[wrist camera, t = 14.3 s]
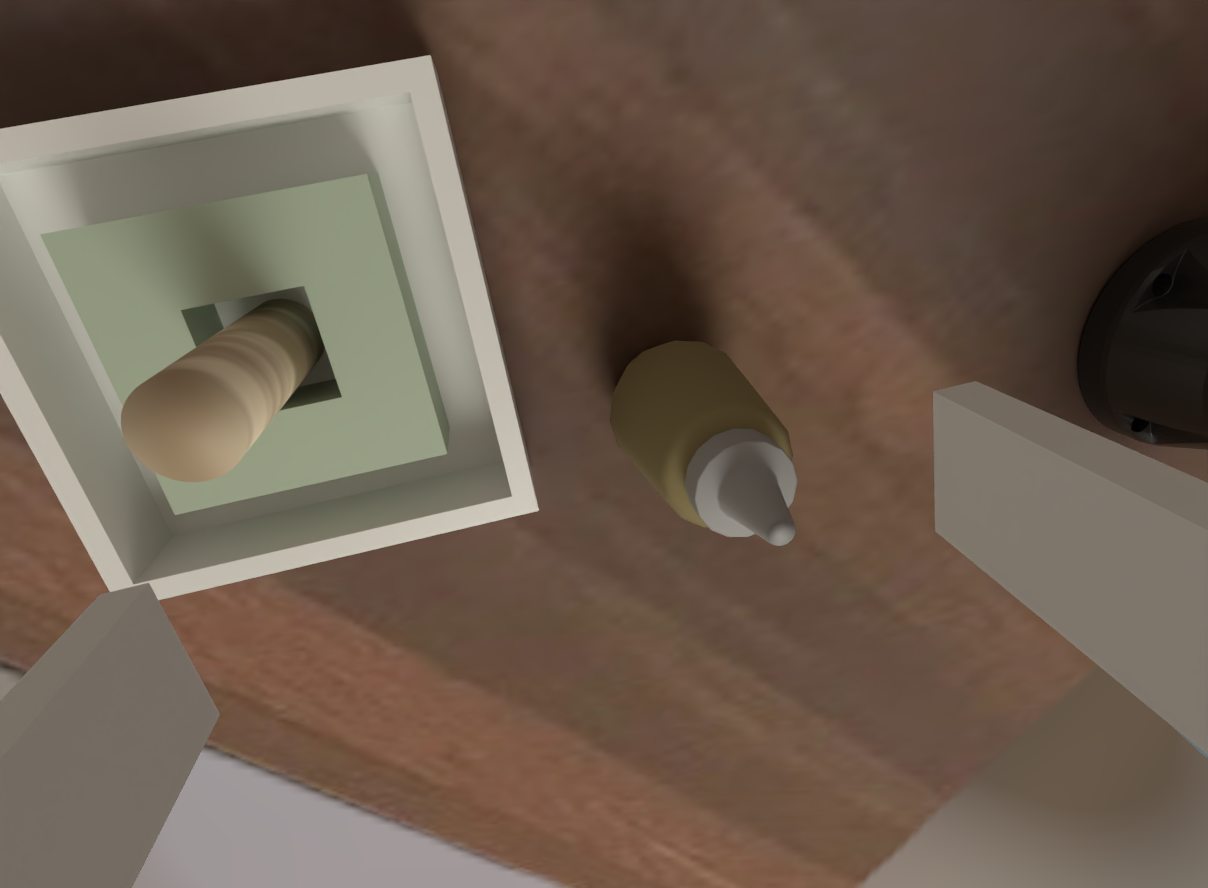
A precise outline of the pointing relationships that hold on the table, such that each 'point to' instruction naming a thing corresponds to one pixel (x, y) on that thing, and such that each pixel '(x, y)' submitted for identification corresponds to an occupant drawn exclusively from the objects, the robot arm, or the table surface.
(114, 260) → the bore plate
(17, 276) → the open box
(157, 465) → the peg
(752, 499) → the squeeze bottle
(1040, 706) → the table surface
